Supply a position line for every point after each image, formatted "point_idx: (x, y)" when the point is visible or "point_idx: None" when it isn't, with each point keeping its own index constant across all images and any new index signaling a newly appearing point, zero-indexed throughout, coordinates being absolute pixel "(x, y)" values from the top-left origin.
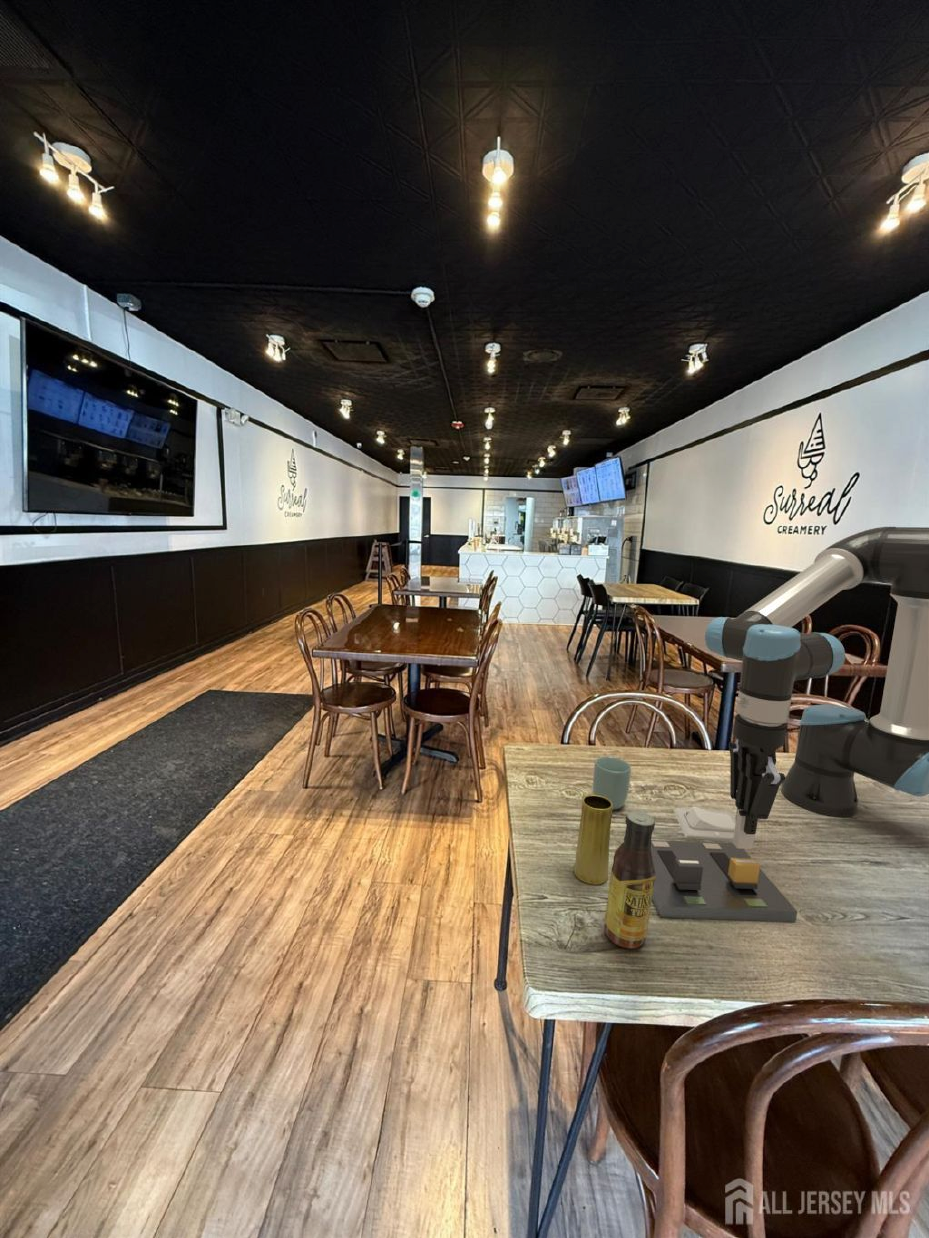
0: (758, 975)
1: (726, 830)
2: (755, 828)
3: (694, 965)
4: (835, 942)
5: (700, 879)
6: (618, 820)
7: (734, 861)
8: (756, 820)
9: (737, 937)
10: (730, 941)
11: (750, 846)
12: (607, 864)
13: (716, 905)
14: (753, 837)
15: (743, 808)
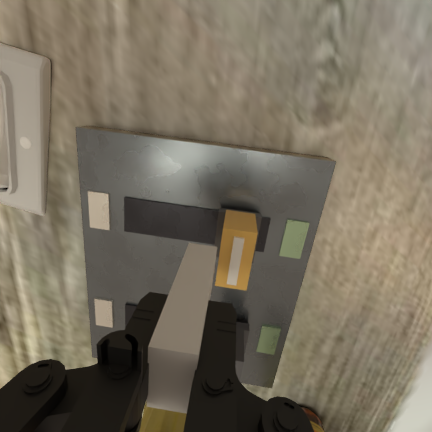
0: (408, 308)
1: (9, 111)
2: (234, 329)
3: (363, 374)
4: (399, 108)
5: (243, 337)
6: (13, 316)
7: (230, 285)
8: (234, 368)
9: (333, 290)
10: (337, 306)
11: (215, 258)
12: (177, 425)
13: (285, 312)
14: (212, 272)
15: (146, 393)
